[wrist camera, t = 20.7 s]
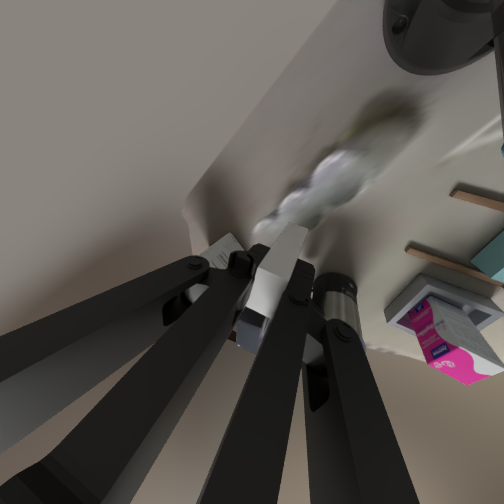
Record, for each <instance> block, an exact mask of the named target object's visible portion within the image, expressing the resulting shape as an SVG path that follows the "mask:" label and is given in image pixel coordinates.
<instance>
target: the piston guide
mask: <svg viewBox="0 0 504 504" xmlns="http://www.w3.org/2000/svg"><path fill="white" fill-rule="evenodd" d="M449 196H451V197H453V198H457V199H461V200H464V201H468V202H471V203H475V204H478V205H482V206H485V207H489V208H492V209H496V210H499V211H503V212H504V203H503V202H499V201H496V200H492V199H488V198H485V197H481V196H477V195H474V194H470V193H466V192H463V191H459V190H456V189H454V191H453V192H452V193H451V194H450V195H449ZM405 252H406V253H408V254H411V255H414V256H417V257H419V258H422V259H425V260H428V261H431V262H434V263H436V264H439V265H442V266H445V267H448V268H450V269H453V270H456V271H459V272H462V273H464V274H467V275H470V276H473V277H476V278H478V279H481V280H484V281H487V282H490V283H492V284H495V285H498V286H501V287H502V288H504V283H502V282H500V281H497V280H494V279H491V278H490V277H488V276H487V275H486V274H485V273H484V272H482V271H480V270H477V269H474V268H471V267H468V266H465V265H463V264H460V263H457V262H454V261H451V260H448V259H445V258H442V257H439V256H437V255H434V254H431V253H428V252H425V251H422V250H419V249H416V248H414V247H411V246H408V247H407V248H406V249H405Z"/></svg>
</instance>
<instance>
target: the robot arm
mask: <svg viewBox="0 0 504 504" xmlns="http://www.w3.org/2000/svg"><path fill="white" fill-rule="evenodd" d="M383 36H384V41H385V45H386V48H387V50H388V53H389V55H390V56H391V58H392V59H393V61H394V62H395V63H396V64H397V65H398V66H400V67H401V68H402V69H404V70H406V71H408V72H410V73H413V74H417V75H439V74H444V73H448V72H452V71H455V70H458V69H461V68H463V67H465V66H468V65H470V64H472V63H474V62H476V61H478V60H479V59H481V58H483V57H485V56H486V55H488V54H489V53H491V52H492V51H494V50H495V59H496V69H497V79H498V88H499V98H500V108H501V118H502V128H503V137H504V0H386V1H385V5H384V12H383ZM501 151H502V155H503V157H504V144H503V145H502V147H501ZM308 230H309V229H307V228H304V227H302V226H299V225H296V224H294V223H291V222H289V223H288V224H287V226H286V227H285V229H284V230H283V232H282V233H281V234H280V236H279V237H278V239H277V240H276V242H275V243H274V244H273V246H272V247H271V248H269V247H267V246H265V245H262V244H260V243H259V244H256V245H253V246H252V247H251V248H250V250H249V251H248V252H246V251H241V250H237V251H233V252H231V253H230V256H229V261H228V267H227V268H226V269H218V268H214V267H210V264H209V261H208V260H207V259H206V258H204V257H202V256H197V255H195V256H188V257H185V258H183V259H180V260H178V261H176V262H173V263H171V264H168V265H166V266H164V267H161V268H159V269H157V270H155V271H152V272H150V273H147V274H145V275H143V276H141V277H138V278H136V279H133V280H131V281H129V282H126V283H124V284H122V285H119V286H117V287H115V288H112V289H110V290H108V291H105V292H104V293H101V294H98V295H96V296H94V297H91V298H89V299H87V300H84V301H82V302H80V303H77V304H75V305H73V306H70V307H68V308H66V309H63V310H61V311H58V312H56V313H54V314H51V315H49V316H47V317H44V318H42V319H40V320H37V321H35V322H33V323H30V324H28V325H26V326H23V327H21V328H19V329H16V330H14V331H12V332H9V333H7V334H5V335H2V336H0V454H2V453H3V452H5V451H6V450H7V449H9V448H10V447H12V446H13V445H14V444H16V443H17V442H19V441H20V440H21V439H23V438H24V437H25V436H27V435H28V434H30V433H31V432H32V431H34V430H35V429H36V428H38V427H39V426H41V425H42V424H43V423H45V422H46V421H47V420H49V419H50V418H52V417H53V416H54V415H56V414H57V413H58V412H60V411H61V410H63V409H64V408H65V407H67V406H68V405H70V404H71V403H72V402H74V401H75V400H76V399H78V398H79V397H81V396H82V395H83V394H84V393H86V392H87V391H89V390H90V389H92V388H93V387H94V386H96V385H97V384H98V383H100V382H101V381H103V380H104V379H105V378H107V377H108V376H109V375H111V374H112V373H114V372H115V371H116V370H118V369H119V368H121V367H122V366H123V365H125V364H126V363H127V362H129V361H130V360H131V359H133V358H134V357H136V356H137V355H138V354H140V353H141V352H142V351H144V350H145V349H146V348H148V347H149V346H151V345H152V344H154V343H155V342H156V341H157V342H156V343H155V344H154V345H153V346H152V347H151V348H150V349H149V350H148V351H147V352H146V353H145V354H144V355H143V356H142V358H140V359H139V361H138V362H137V363H136V364H135V365H134V366H133V367H132V368H131V369H130V370H129V371H128V372H127V373H126V374H125V375H124V377H122V378H121V379H120V381H119V382H118V383H117V384H116V385H115V386H114V387H113V388H112V389H111V390H110V391H109V392H108V393H107V394H106V395H105V396H104V397H103V398H102V400H100V401H99V403H98V404H97V405H96V406H95V407H94V408H93V409H92V410H91V411H90V412H89V413H88V414H87V415H86V416H85V417H84V418H83V419H82V420H81V422H80V423H79V424H78V425H77V426H76V427H75V428H74V429H73V430H72V431H71V432H70V433H69V434H68V435H67V436H66V437H65V438H64V439H63V440H62V441H61V443H60V444H59V445H58V446H57V447H55V448H54V449H53V450H52V451H51V452H50V453H49V454H48V455H47V456H45V457H44V458H43V459H41V460H40V461H39V462H37V463H35V464H34V465H32V466H30V467H28V468H26V469H25V470H23V471H21V472H19V473H18V474H16V475H15V476H13V477H12V478H10V479H9V480H8V481H6V482H5V483H4V484H3V485H1V486H0V504H130V503H131V501H132V499H133V497H134V496H135V494H136V492H137V491H138V489H139V487H140V486H141V484H142V482H143V481H144V479H145V477H146V475H147V474H148V472H149V470H150V469H151V467H152V465H153V463H154V462H155V460H156V458H157V457H158V455H159V453H160V452H161V450H162V448H163V447H164V445H165V443H166V442H167V439H168V438H169V436H170V435H171V433H172V431H173V430H174V428H175V426H176V425H177V423H178V421H179V419H180V418H181V416H182V414H183V413H184V411H185V409H186V408H187V406H188V404H189V402H190V401H191V399H192V397H193V396H194V394H195V392H196V391H197V388H198V387H199V386H200V384H201V382H202V380H203V378H204V377H205V375H206V374H207V372H208V370H209V369H210V367H211V365H212V364H213V362H214V360H215V358H216V357H217V355H218V353H219V352H220V350H221V348H222V347H223V345H224V343H225V341H226V340H227V338H228V336H229V335H230V333H231V331H232V330H233V328H234V326H235V324H236V322H237V321H238V319H239V318H240V316H241V314H242V311H243V308H244V306H245V304H246V303H247V304H246V307H248V308H250V309H252V310H254V311H256V312H258V313H260V314H262V315H264V316H266V317H268V318H270V319H271V321H270V323H269V325H268V328H267V330H266V332H265V334H264V338H263V340H262V342H261V345H260V347H259V350H258V352H257V355H256V357H255V360H254V363H253V365H252V367H251V370H250V372H249V375H248V377H247V379H246V382H245V384H244V387H243V389H242V392H241V394H240V397H239V399H238V402H237V404H236V407H235V409H234V412H233V414H232V416H231V419H230V421H229V424H228V427H227V429H226V431H225V434H224V436H223V439H222V441H221V444H220V446H219V449H218V451H217V454H216V456H215V458H214V461H213V464H212V466H211V468H210V471H209V473H208V476H207V478H206V481H205V483H204V485H203V488H202V491H201V493H200V495H199V498H198V500H197V503H196V504H277V500H278V495H279V489H280V484H281V478H282V472H283V466H284V461H285V455H286V450H287V444H288V438H289V433H290V426H291V421H292V416H293V410H294V404H295V398H296V393H297V387H298V381H299V376H300V370H301V364H302V378H303V394H304V409H305V410H304V411H305V426H306V440H307V441H306V442H307V457H308V472H309V488H310V502H311V504H420V503H419V500H418V498H417V495H416V492H415V489H414V486H413V484H412V481H411V478H410V475H409V473H408V470H407V467H406V464H405V462H404V459H403V456H402V453H401V450H400V448H399V445H398V442H397V440H396V437H395V434H394V431H393V429H392V426H391V423H390V420H389V417H388V415H387V412H386V409H385V407H384V404H383V401H382V398H381V396H380V393H379V390H378V387H377V384H376V382H375V379H374V376H373V373H372V371H371V368H370V365H369V362H368V360H367V357H366V354H365V351H364V349H363V346H362V343H361V340H360V338H359V336H358V334H357V332H356V331H355V330H354V329H353V328H352V326H350V325H349V324H348V323H346V322H345V321H342V320H340V319H335V318H333V319H330V320H328V321H327V320H326V319H325V318H323V317H322V316H321V315H319V314H318V313H317V312H316V311H315V310H314V308H313V307H312V302H311V300H310V296H311V291H312V286H313V280H314V275H315V269H314V266H313V265H312V264H310V263H308V262H305V261H303V260H300V259H298V256H299V253H300V251H301V248H302V245H303V243H304V240H305V238H306V235H307V232H308Z"/></svg>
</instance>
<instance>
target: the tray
mask: <svg viewBox="0 0 504 504" xmlns="http://www.w3.org/2000/svg"><path fill="white" fill-rule="evenodd" d="M428 295H433V296H435V297H437V298H440V299H442V300H444V301H446V302H448V303H450V304H453V305H455V306H457V307H459V308H461V309H463V311H464V312H465V313H466V314H467V316H468V317H469V318H470V320H471V321H472V323H473V324H474V325H475V327H476V328H477V329H478V331H481V330H482V329H484V328H485V327H487V326H488V325H490V324H491V323H493V322H494V321H496V320H497V319H499V318H501V317H502V316H504V312H503V311H502V310H501V309H500V308H499V307H498V306H497V305H496V304H495V303H494V302H493V301H492V300H491V299H489V298H486V297H483V296H480V295H478V294H475V293H472V292H470V291H467V290H464V289H462V288H459V287H456V286H454V285H451V284H448V283H446V282H443V281H440V280H437V279H435V278H432V277H429V276H427V275H424V274H421V273H420V274H419V275H418V276H417V277H416V278H415V279H414V280H413V281H412V282H411V283H410V284H409V285H408V286H407V287H406V288H405V289H404V291H403V292H402V293H401V294H400V295H399V296H398V297H397V298H396V299H395V300H394V301H393V302H392V303H391V304H390V305H389V306H388V307H387V308H386V309H385V310H384V314H385V317H386V321H387V324H389V325H392V326H394V327H396V328H398V329H401V330H403V331H405V332H408V333H410V334H412V335H414V336H416V333H415V331H414V328H413V326H412V323H411V321H410V318H409V316H408V313H407V312H408V311H410V310H411V309H413V308H414V307H415V306H416V305H418V304H419V303H420V302H422V301H423V300H424V299H425V298H426V297H427V296H428Z"/></svg>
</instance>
